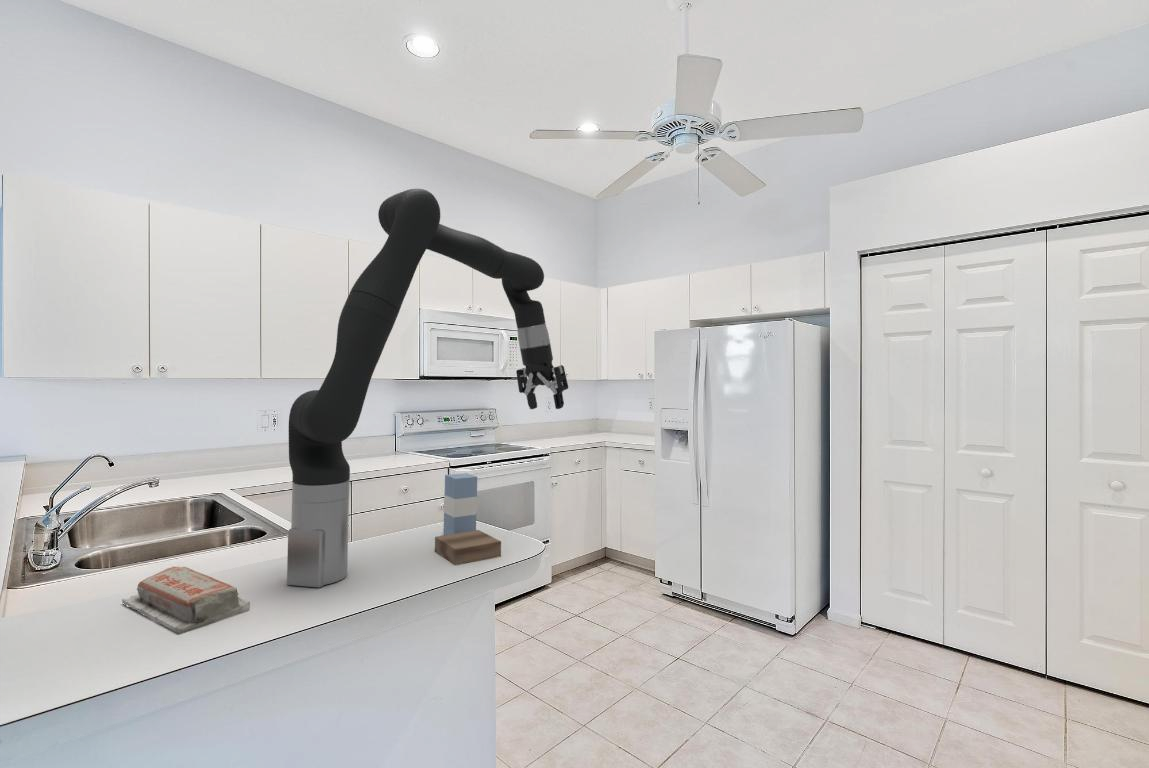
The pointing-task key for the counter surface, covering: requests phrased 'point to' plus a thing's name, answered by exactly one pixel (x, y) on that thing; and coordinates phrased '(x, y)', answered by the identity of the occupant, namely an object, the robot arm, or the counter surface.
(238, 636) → the counter surface
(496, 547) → the podium
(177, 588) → the packaged product
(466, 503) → the carton
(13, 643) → the counter surface
